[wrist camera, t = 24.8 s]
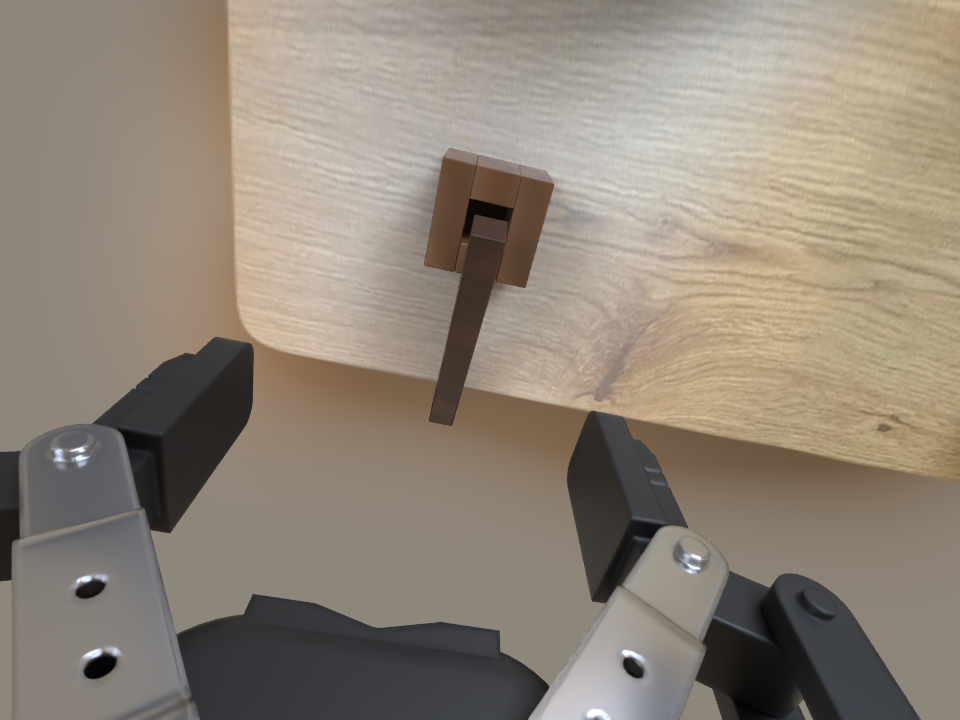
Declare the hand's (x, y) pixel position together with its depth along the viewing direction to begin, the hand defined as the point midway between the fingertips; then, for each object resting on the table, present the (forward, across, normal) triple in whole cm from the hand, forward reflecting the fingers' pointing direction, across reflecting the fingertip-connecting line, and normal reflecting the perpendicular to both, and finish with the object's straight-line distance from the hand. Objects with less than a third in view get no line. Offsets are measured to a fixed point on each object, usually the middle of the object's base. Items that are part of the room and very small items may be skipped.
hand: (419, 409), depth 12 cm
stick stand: (+19, -2, -1) cm, 19 cm away
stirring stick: (+13, -2, -2) cm, 13 cm away
